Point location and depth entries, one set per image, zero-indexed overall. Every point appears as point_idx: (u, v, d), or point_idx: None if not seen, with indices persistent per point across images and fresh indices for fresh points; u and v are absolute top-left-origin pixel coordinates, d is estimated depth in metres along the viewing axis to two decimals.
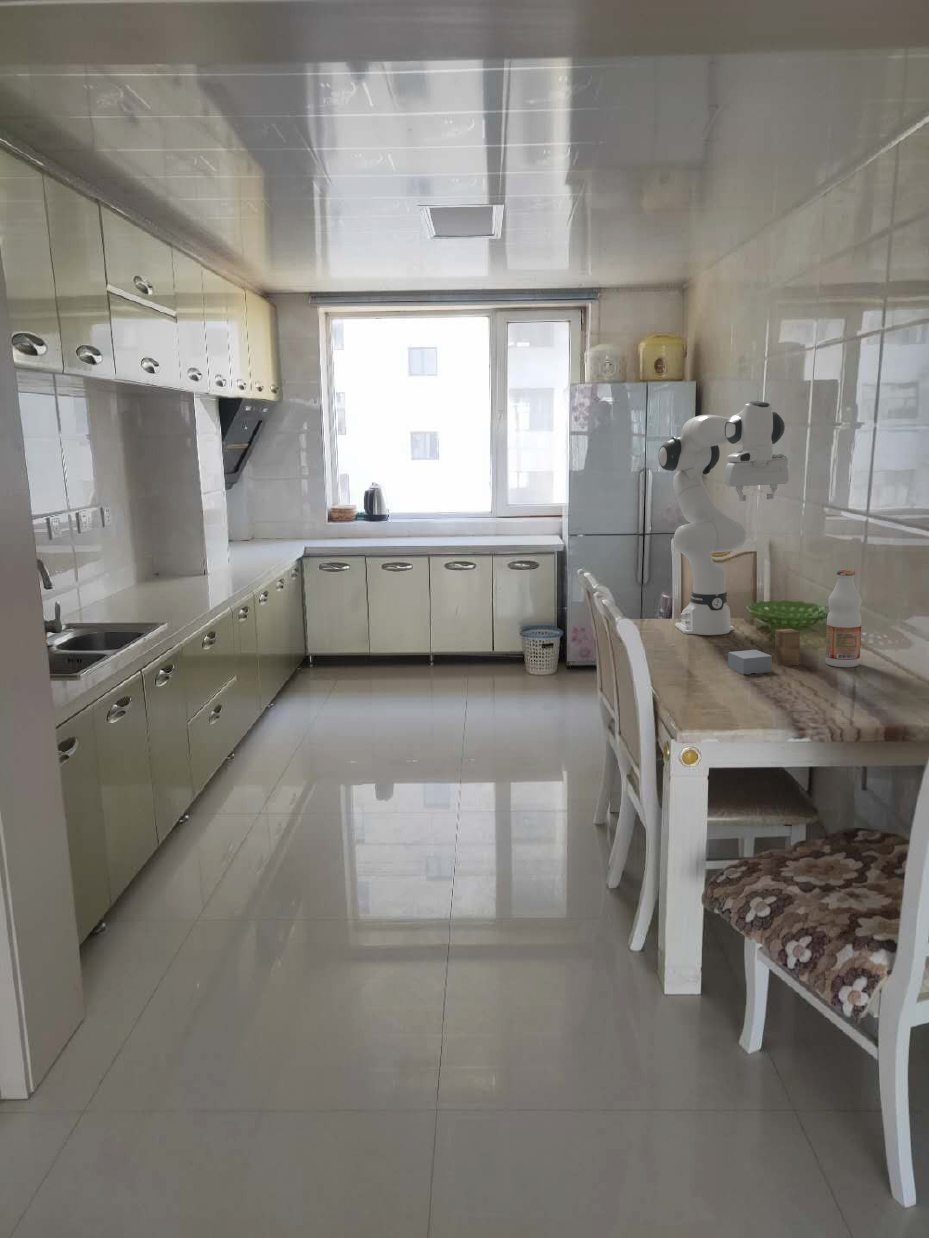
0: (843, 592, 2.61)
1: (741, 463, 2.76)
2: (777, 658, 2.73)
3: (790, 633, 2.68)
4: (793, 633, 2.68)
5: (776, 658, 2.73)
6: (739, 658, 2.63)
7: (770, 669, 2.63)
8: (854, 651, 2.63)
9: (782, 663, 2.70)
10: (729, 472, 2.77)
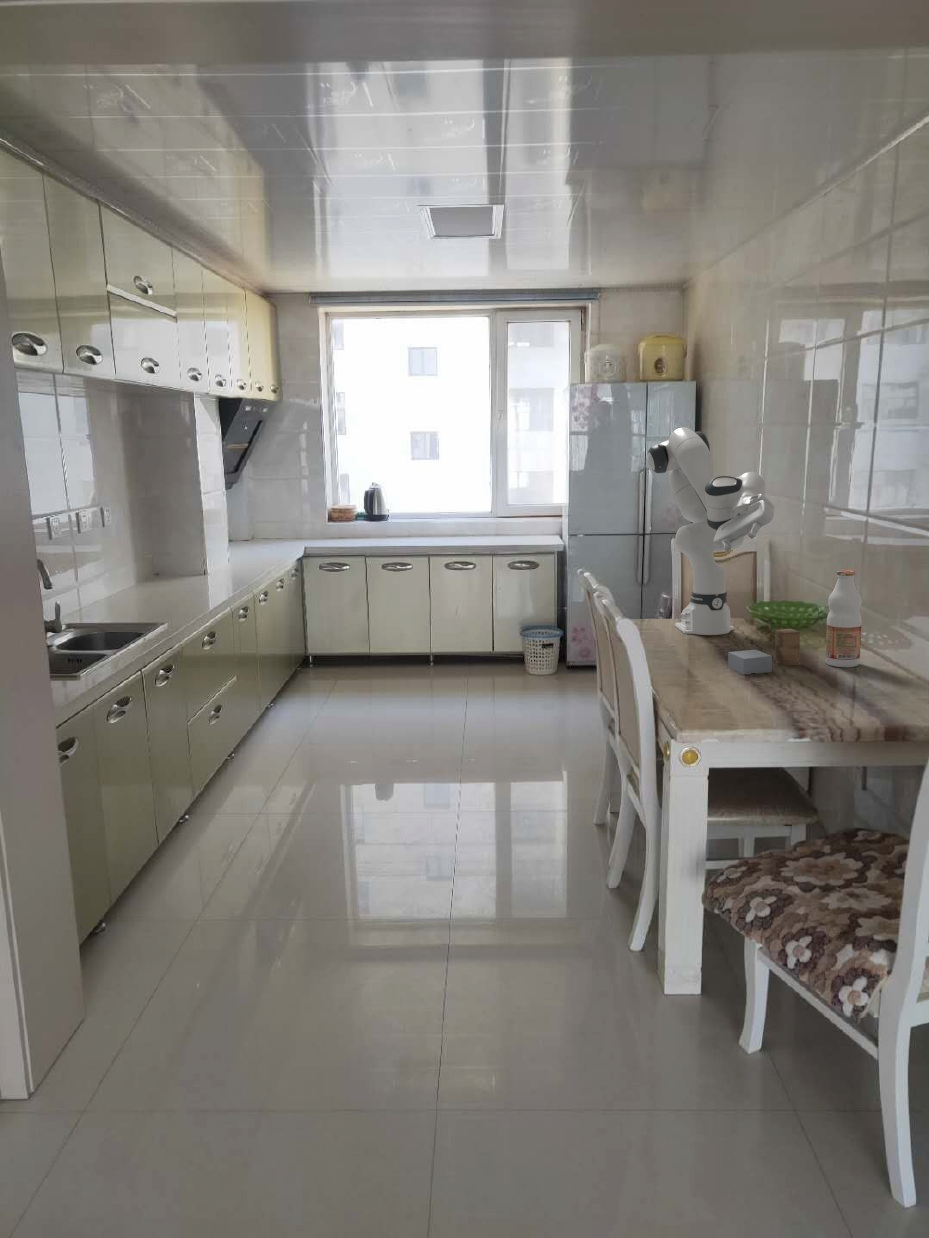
0: (843, 592, 2.61)
1: None
2: (777, 658, 2.73)
3: (790, 633, 2.68)
4: (793, 633, 2.68)
5: (776, 658, 2.73)
6: (739, 658, 2.63)
7: (770, 669, 2.63)
8: (854, 651, 2.63)
9: (782, 663, 2.70)
10: (770, 509, 2.68)
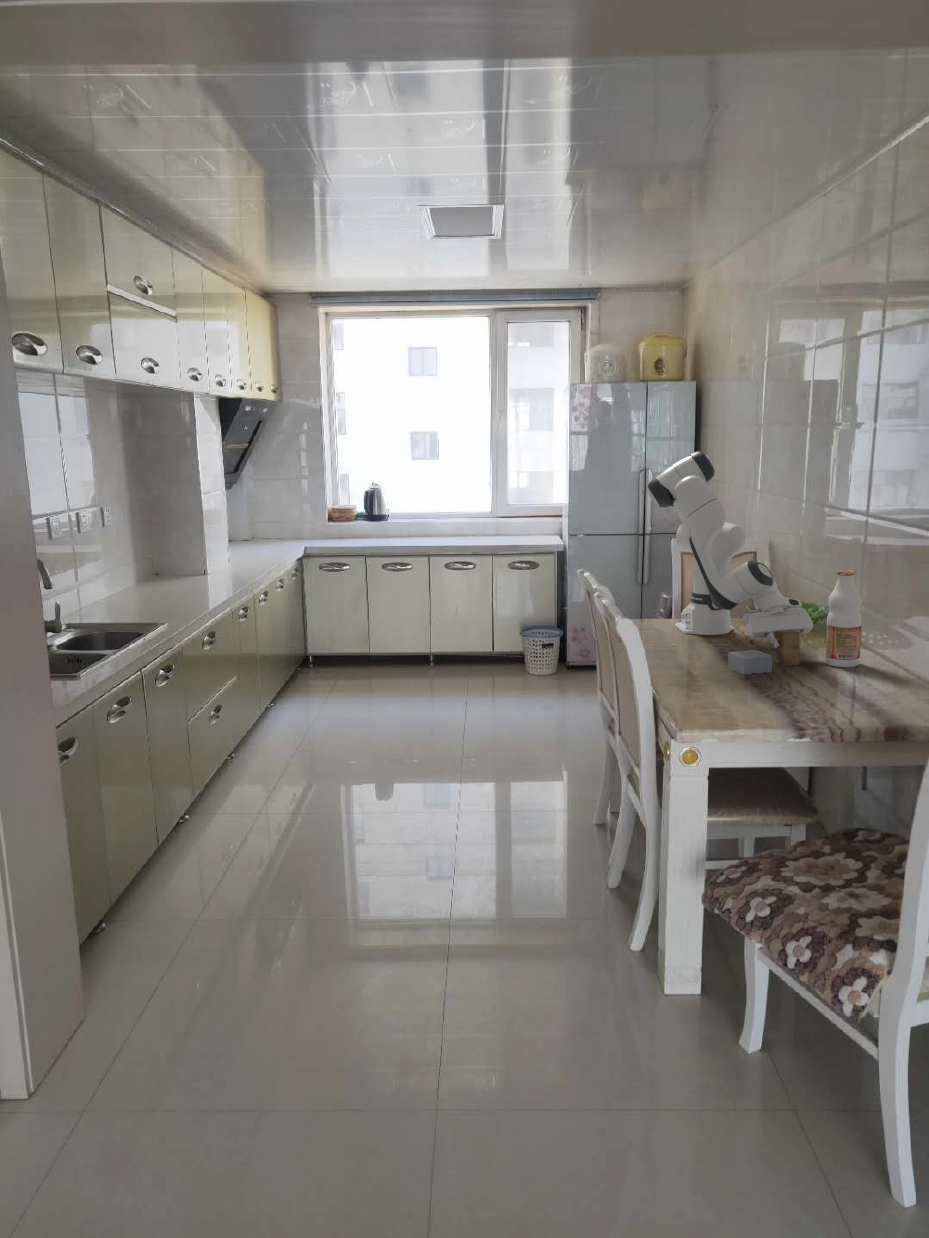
0: (843, 592, 2.61)
1: None
2: (777, 658, 2.73)
3: (790, 633, 2.68)
4: (793, 633, 2.68)
5: (776, 658, 2.73)
6: (739, 658, 2.63)
7: (770, 669, 2.63)
8: (854, 651, 2.63)
9: (782, 663, 2.70)
10: None
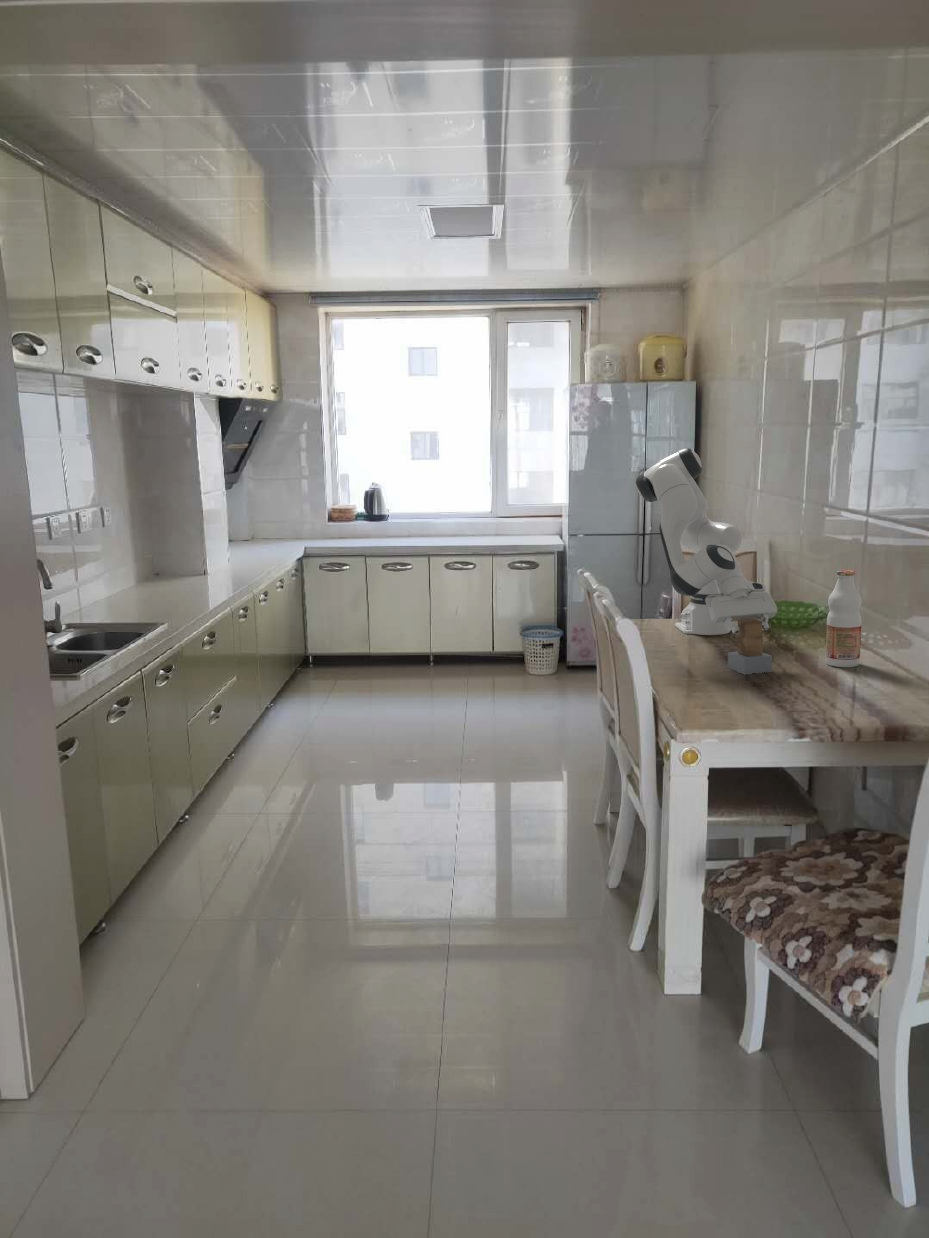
0: (843, 592, 2.61)
1: None
2: (740, 649, 2.66)
3: (752, 623, 2.61)
4: (755, 623, 2.61)
5: (739, 649, 2.66)
6: (740, 658, 2.63)
7: (770, 669, 2.63)
8: (854, 651, 2.63)
9: (745, 654, 2.63)
10: None
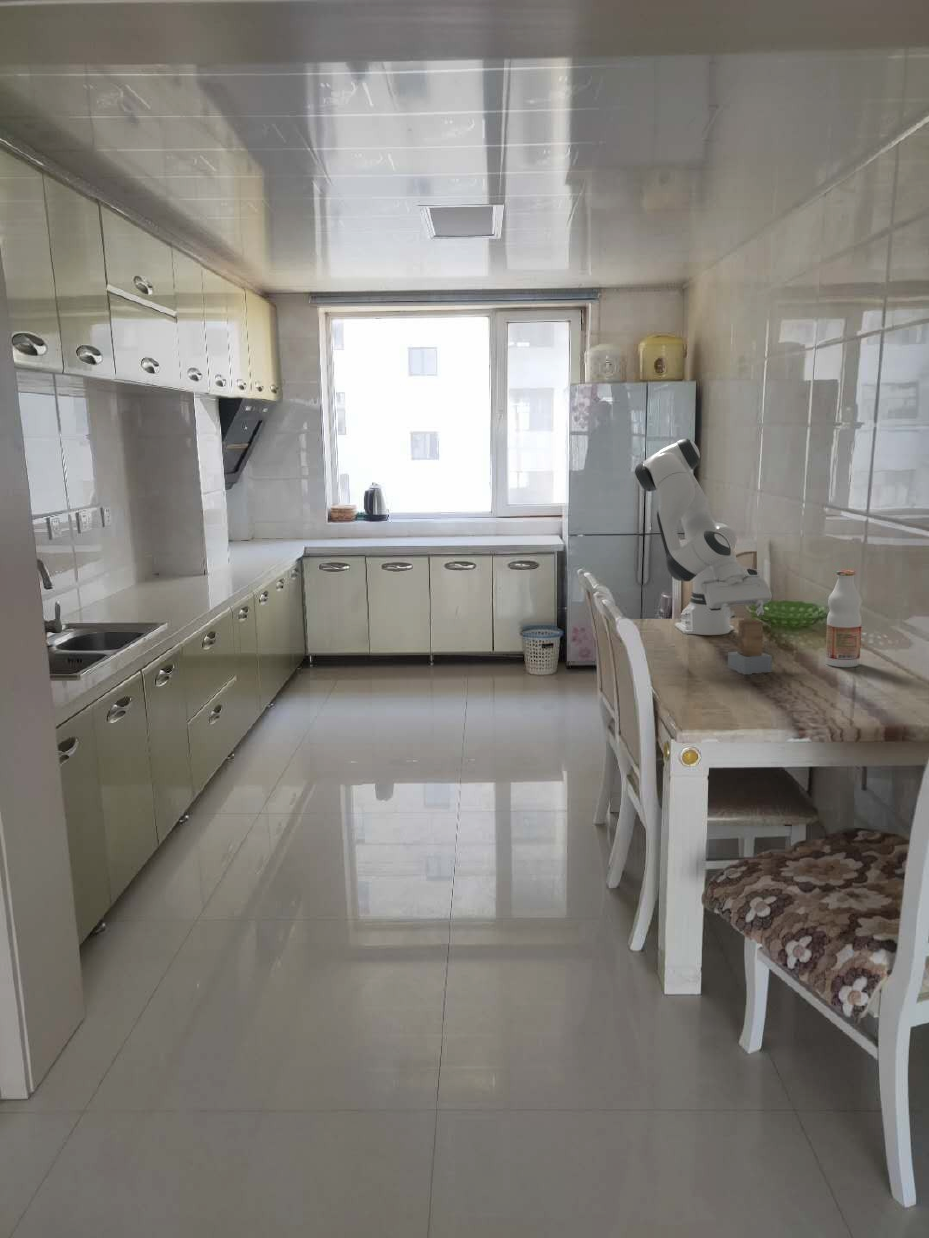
0: (843, 592, 2.61)
1: None
2: (739, 649, 2.66)
3: (752, 623, 2.61)
4: (756, 623, 2.61)
5: (739, 649, 2.66)
6: (740, 658, 2.63)
7: (770, 669, 2.63)
8: (854, 651, 2.63)
9: (744, 654, 2.63)
10: None
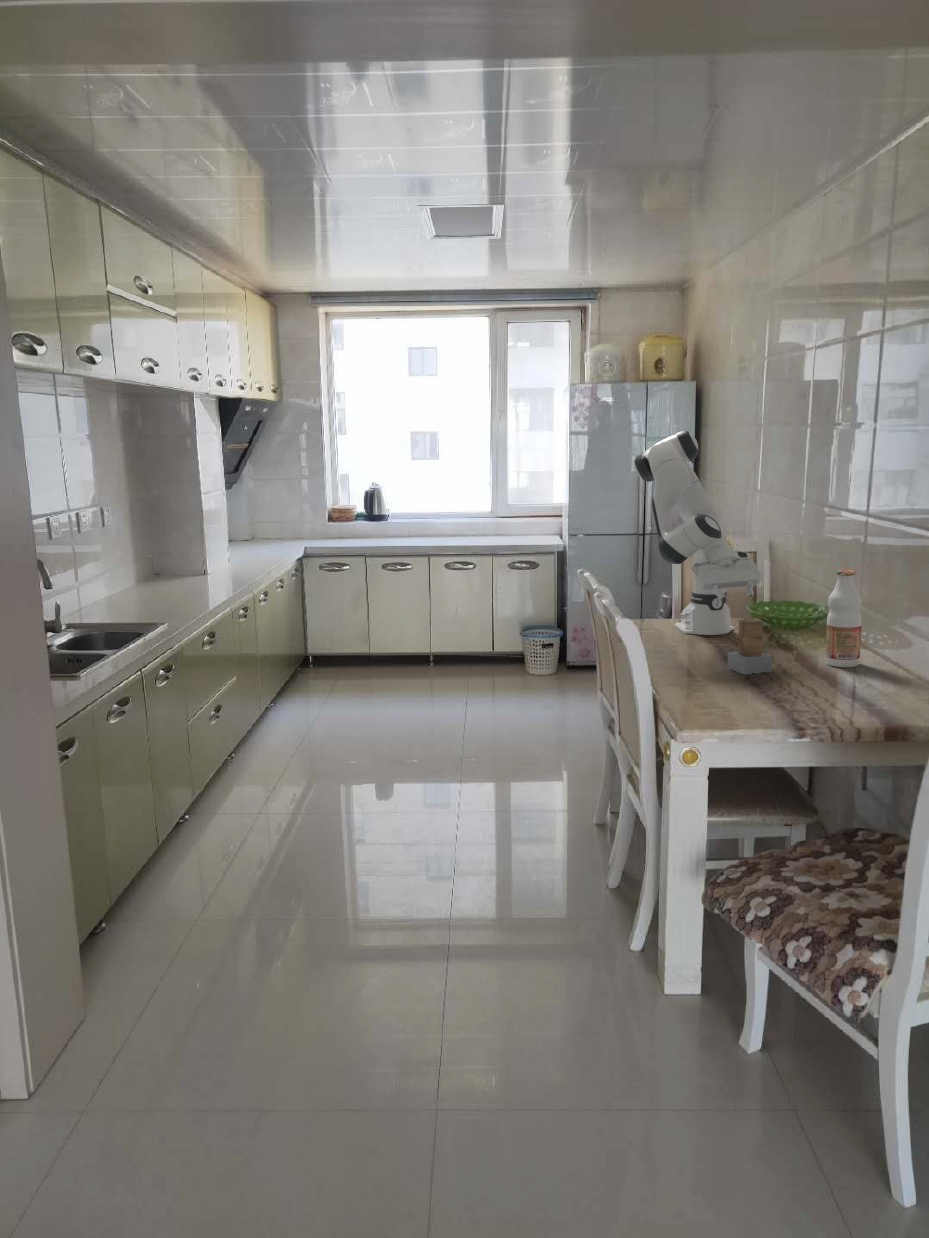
0: (843, 592, 2.61)
1: None
2: (740, 649, 2.66)
3: (753, 623, 2.61)
4: (756, 623, 2.61)
5: (739, 649, 2.66)
6: (740, 658, 2.63)
7: (770, 669, 2.63)
8: (854, 651, 2.63)
9: (744, 654, 2.63)
10: None
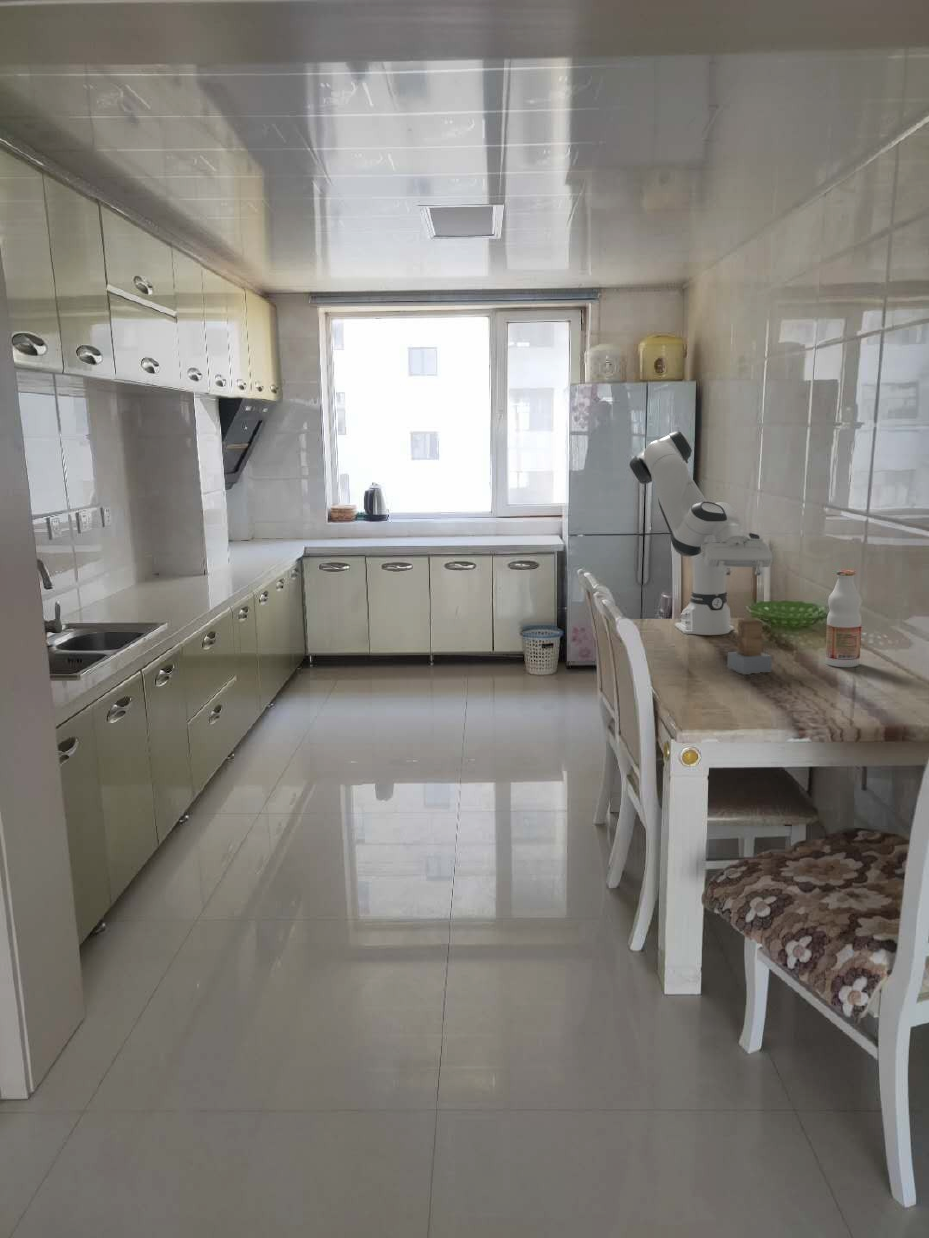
0: (843, 592, 2.61)
1: None
2: (739, 649, 2.66)
3: (752, 623, 2.61)
4: (755, 623, 2.61)
5: (738, 649, 2.67)
6: (739, 658, 2.63)
7: (770, 669, 2.63)
8: (854, 651, 2.63)
9: (744, 654, 2.63)
10: None
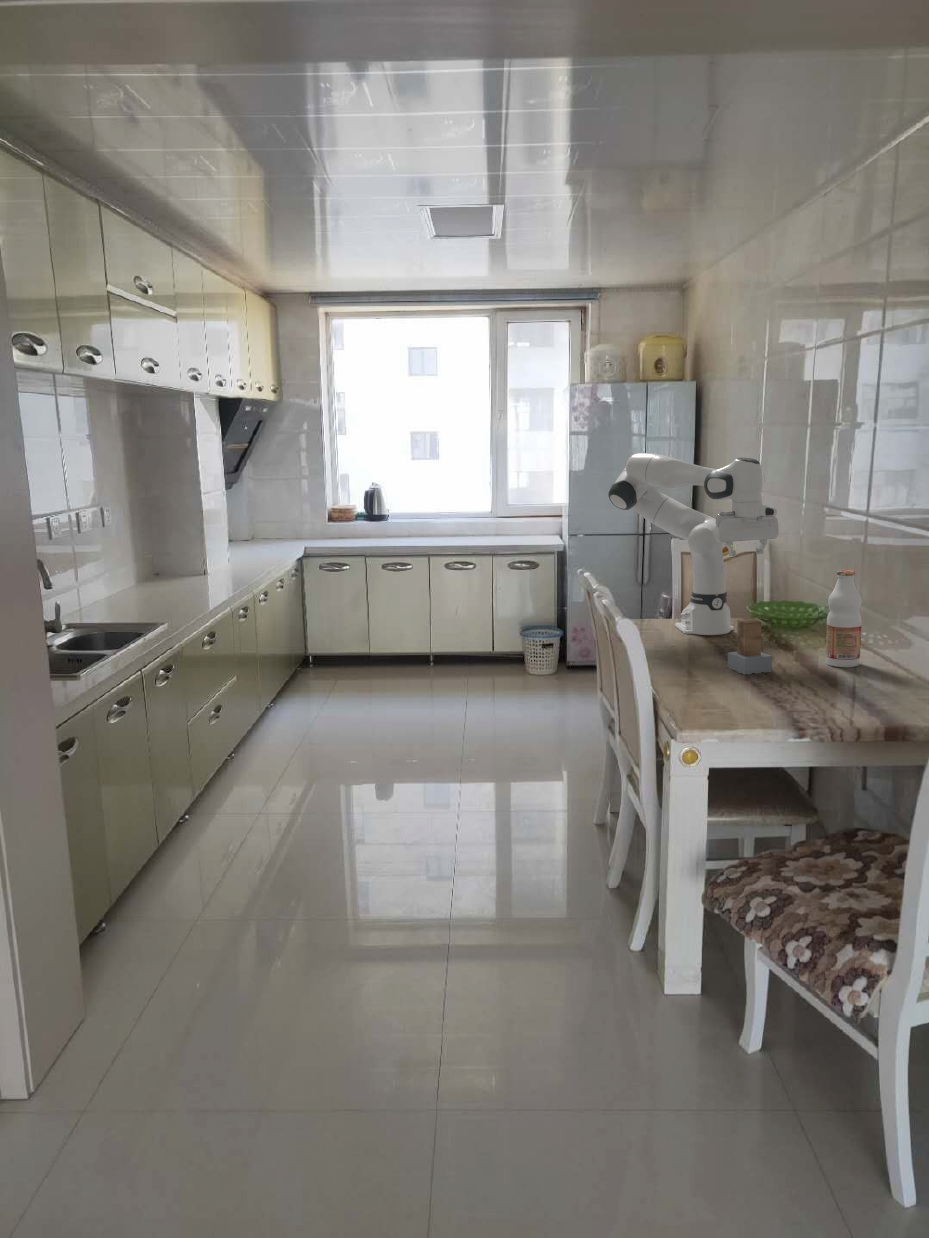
0: (843, 592, 2.61)
1: None
2: (738, 649, 2.66)
3: (751, 623, 2.61)
4: (754, 623, 2.62)
5: (738, 649, 2.67)
6: (740, 658, 2.63)
7: (770, 669, 2.63)
8: (854, 651, 2.63)
9: (743, 654, 2.64)
10: None
